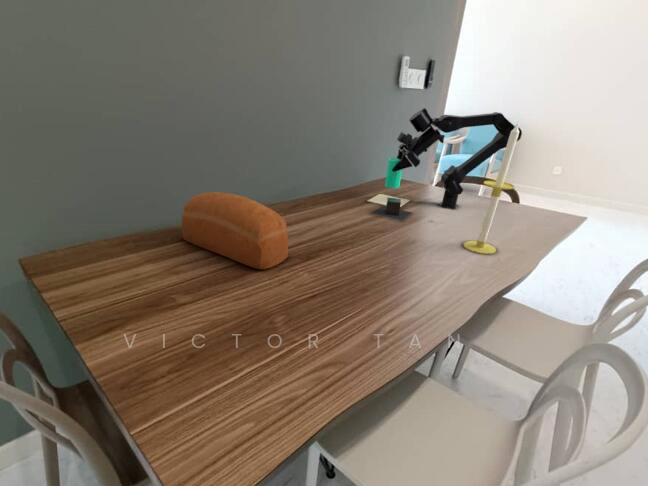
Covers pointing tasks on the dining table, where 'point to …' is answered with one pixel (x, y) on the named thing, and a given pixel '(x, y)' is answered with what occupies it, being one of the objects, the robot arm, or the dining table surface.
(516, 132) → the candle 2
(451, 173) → the robot arm
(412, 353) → the dining table surface
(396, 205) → the charcoal block
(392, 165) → the candle
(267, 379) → the dining table surface
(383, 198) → the cream pad
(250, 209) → the bread
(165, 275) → the dining table surface
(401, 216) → the charcoal mat
